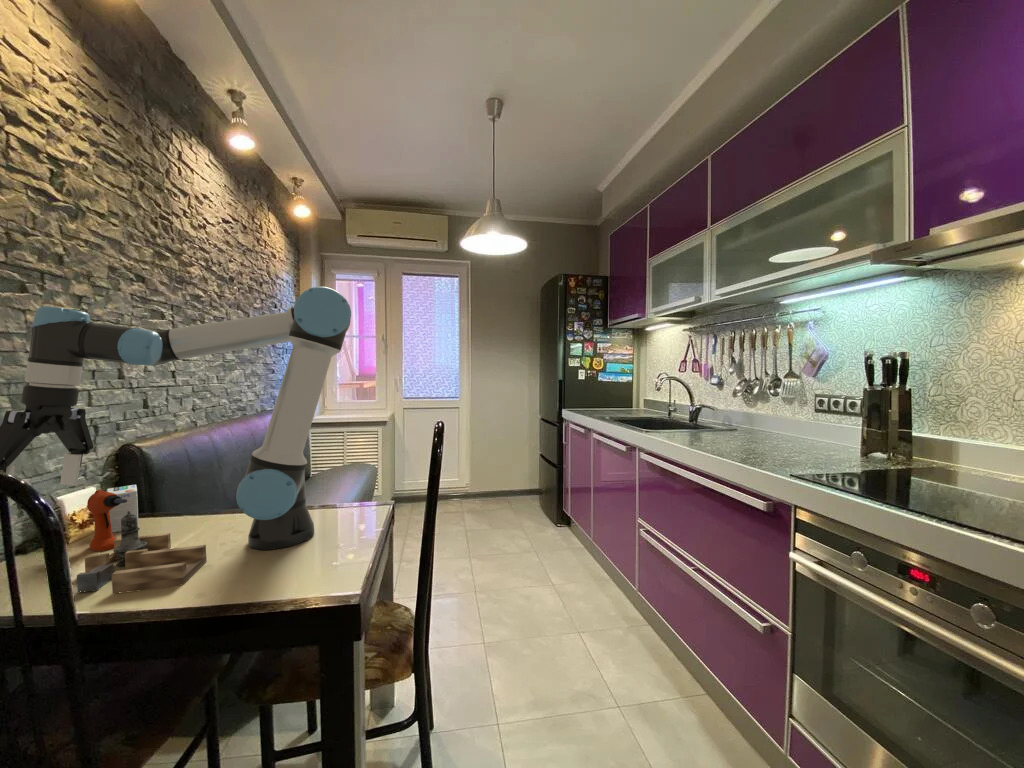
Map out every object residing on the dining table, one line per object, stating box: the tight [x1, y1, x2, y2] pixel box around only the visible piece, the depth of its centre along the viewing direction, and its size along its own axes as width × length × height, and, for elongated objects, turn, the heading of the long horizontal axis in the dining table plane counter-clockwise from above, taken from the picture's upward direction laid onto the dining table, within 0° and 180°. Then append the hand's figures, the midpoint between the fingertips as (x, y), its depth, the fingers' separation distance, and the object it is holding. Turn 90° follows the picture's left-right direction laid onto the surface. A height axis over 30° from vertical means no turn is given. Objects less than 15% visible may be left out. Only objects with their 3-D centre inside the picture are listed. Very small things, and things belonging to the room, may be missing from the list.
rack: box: [111, 544, 208, 594], centre depth 91 cm, size 12×11×4 cm
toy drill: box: [86, 489, 127, 552], centre depth 106 cm, size 5×19×15 cm, turn 62°
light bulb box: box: [106, 484, 139, 533], centre depth 123 cm, size 11×7×11 cm, turn 43°
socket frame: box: [84, 532, 172, 573], centre depth 99 cm, size 11×11×4 cm
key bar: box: [76, 562, 115, 593], centre depth 88 cm, size 3×6×4 cm, turn 15°
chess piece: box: [112, 511, 147, 568], centre depth 99 cm, size 6×6×12 cm
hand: (36, 492), depth 83 cm, fingers open, 13 cm apart
